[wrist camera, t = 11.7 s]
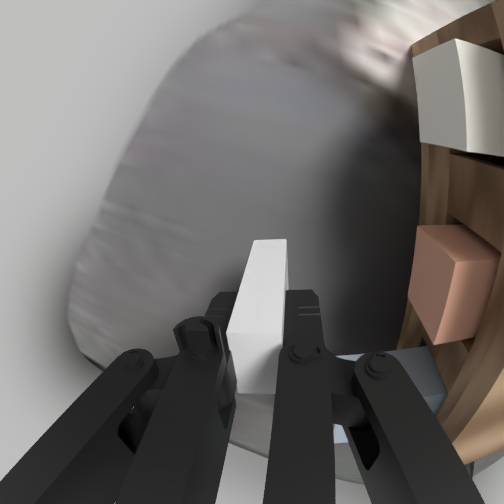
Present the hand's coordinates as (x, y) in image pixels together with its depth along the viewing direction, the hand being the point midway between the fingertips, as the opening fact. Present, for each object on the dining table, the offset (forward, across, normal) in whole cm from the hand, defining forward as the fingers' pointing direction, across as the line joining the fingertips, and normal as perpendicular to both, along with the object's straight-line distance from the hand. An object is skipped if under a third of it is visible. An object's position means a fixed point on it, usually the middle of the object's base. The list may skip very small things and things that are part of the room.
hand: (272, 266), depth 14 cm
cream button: (0, -12, -8) cm, 14 cm away
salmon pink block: (0, -12, 0) cm, 12 cm away
